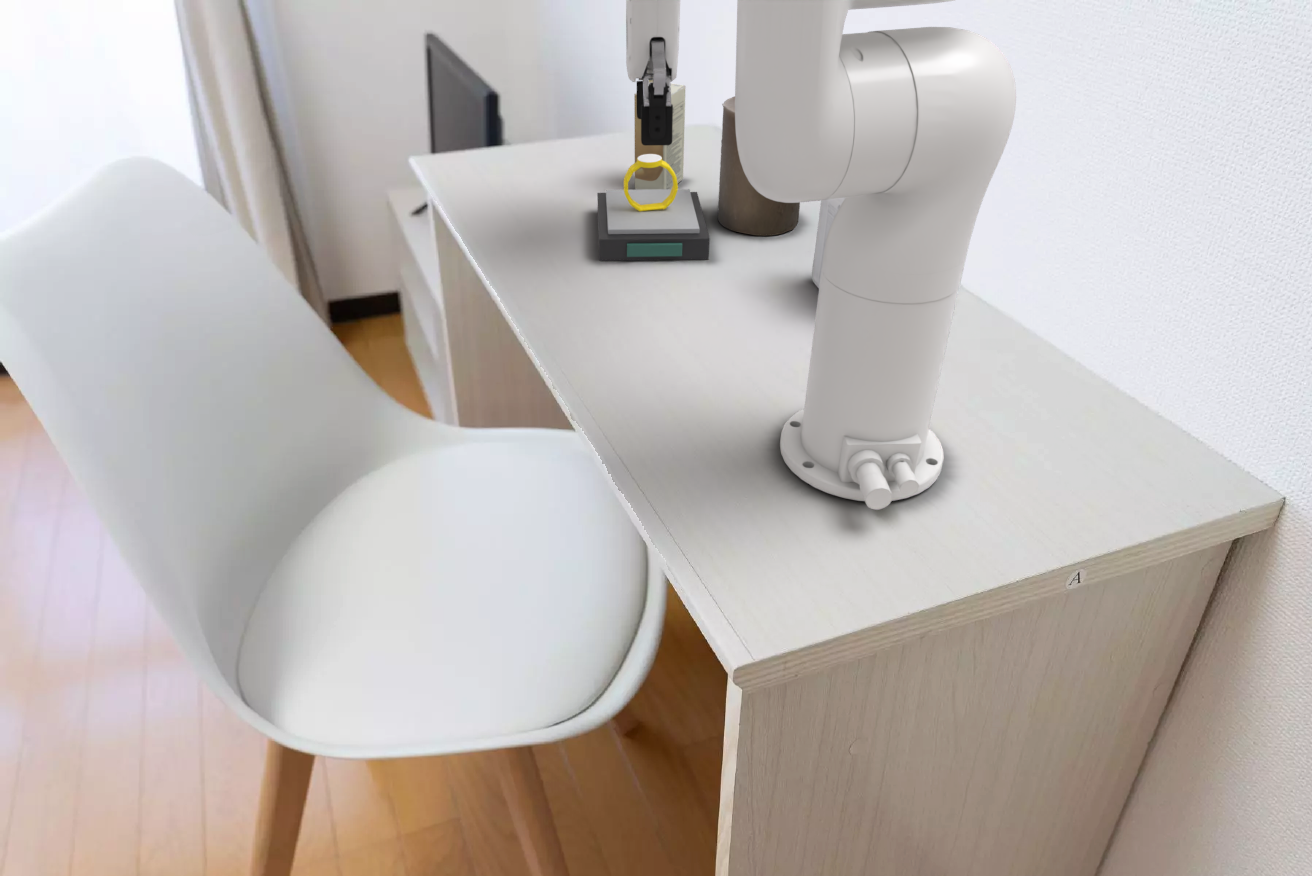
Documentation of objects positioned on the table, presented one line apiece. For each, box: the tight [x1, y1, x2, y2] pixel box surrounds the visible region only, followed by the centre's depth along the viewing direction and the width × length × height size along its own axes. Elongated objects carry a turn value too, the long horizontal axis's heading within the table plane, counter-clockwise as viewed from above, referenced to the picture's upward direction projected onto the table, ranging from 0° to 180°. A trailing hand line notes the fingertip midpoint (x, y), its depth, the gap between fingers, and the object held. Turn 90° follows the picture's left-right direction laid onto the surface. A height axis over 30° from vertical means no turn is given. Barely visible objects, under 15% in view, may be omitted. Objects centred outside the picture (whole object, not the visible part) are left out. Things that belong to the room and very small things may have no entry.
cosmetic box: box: [633, 82, 687, 190], centre depth 121 cm, size 6×4×12 cm
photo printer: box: [811, 197, 846, 289], centre depth 95 cm, size 10×4×12 cm, turn 17°
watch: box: [623, 154, 679, 212], centre depth 108 cm, size 6×3×6 cm, turn 98°
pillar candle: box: [717, 95, 801, 237], centre depth 111 cm, size 10×10×15 cm
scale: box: [596, 188, 711, 262], centre depth 110 cm, size 14×12×3 cm
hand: (653, 131), depth 104 cm, fingers open, 9 cm apart
